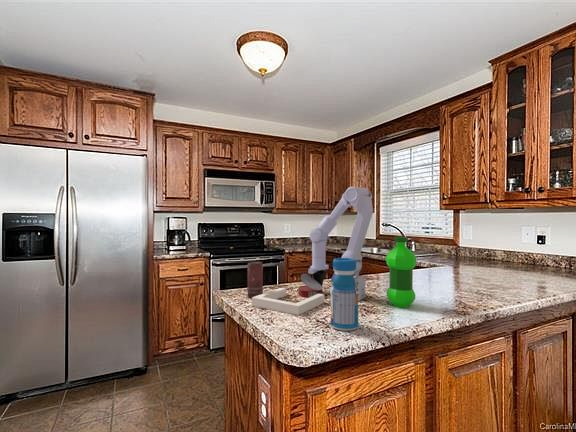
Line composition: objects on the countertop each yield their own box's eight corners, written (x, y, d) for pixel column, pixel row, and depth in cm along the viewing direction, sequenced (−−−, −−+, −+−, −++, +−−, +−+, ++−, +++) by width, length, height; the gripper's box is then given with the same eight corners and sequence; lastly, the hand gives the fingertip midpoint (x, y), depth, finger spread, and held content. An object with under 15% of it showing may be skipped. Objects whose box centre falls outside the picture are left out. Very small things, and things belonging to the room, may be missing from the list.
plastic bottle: (403, 311, 110) (404, 238, 110) (380, 304, 119) (380, 236, 119) (422, 306, 116) (422, 237, 115) (398, 300, 124) (398, 235, 124)
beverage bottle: (340, 333, 90) (340, 262, 90) (324, 324, 97) (324, 258, 97) (364, 329, 93) (365, 260, 93) (348, 320, 101) (348, 256, 101)
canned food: (312, 302, 138) (321, 281, 140) (322, 306, 128) (331, 283, 131) (290, 292, 135) (299, 270, 137) (298, 295, 126) (308, 271, 128)
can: (260, 299, 126) (260, 263, 126) (245, 298, 127) (245, 262, 127) (265, 295, 132) (265, 261, 132) (250, 294, 133) (250, 260, 133)
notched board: (324, 302, 121) (324, 294, 121) (298, 315, 106) (298, 306, 106) (281, 294, 132) (281, 287, 132) (251, 305, 117) (251, 297, 117)
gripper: (318, 254, 147) (318, 283, 147) (302, 257, 135) (302, 290, 135) (332, 255, 143) (332, 285, 143) (316, 259, 131) (316, 292, 131)
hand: (318, 288), depth 139 cm, fingers closed
